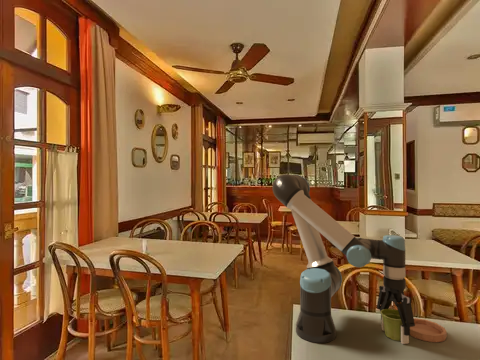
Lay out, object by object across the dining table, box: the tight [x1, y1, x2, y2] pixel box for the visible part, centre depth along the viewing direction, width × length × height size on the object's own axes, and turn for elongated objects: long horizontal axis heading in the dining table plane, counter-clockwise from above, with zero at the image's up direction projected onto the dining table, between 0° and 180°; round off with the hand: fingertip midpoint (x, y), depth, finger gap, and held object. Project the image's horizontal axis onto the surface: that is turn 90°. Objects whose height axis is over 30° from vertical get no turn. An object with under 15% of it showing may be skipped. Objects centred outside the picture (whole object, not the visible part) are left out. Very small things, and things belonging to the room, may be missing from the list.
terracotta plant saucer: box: [409, 317, 448, 343], centre depth 114 cm, size 14×14×2 cm
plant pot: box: [380, 308, 406, 342], centre depth 111 cm, size 9×9×9 cm
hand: (394, 336), depth 111 cm, fingers open, 9 cm apart
